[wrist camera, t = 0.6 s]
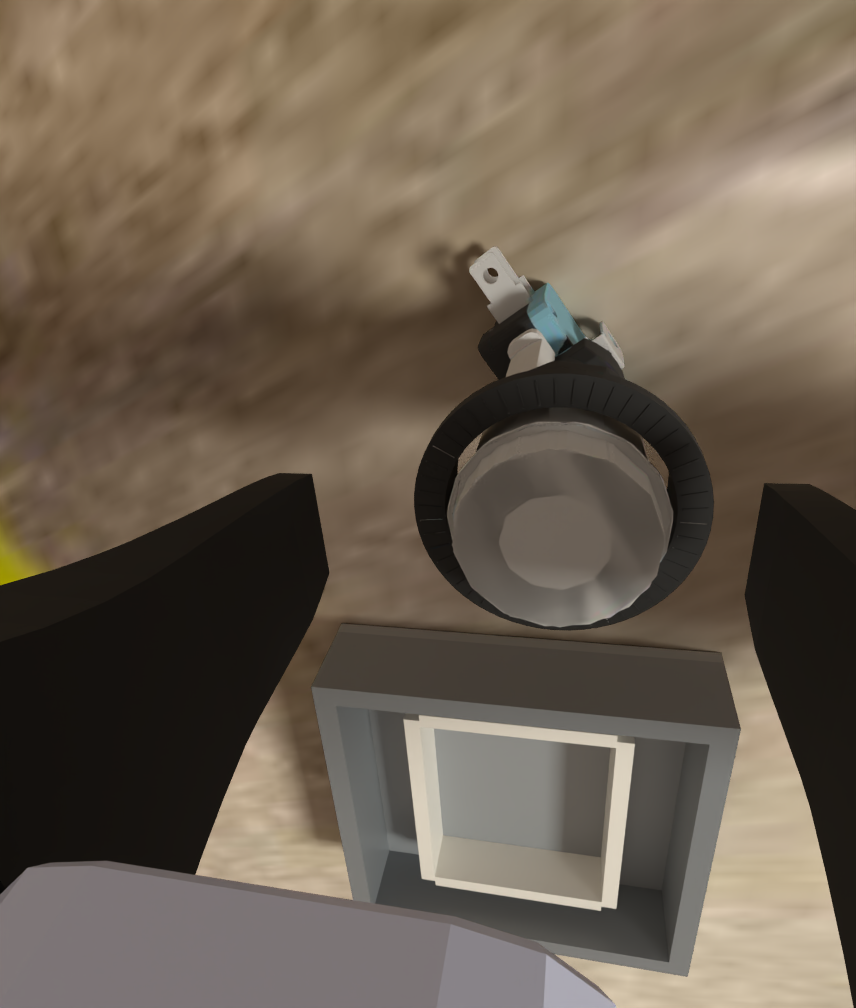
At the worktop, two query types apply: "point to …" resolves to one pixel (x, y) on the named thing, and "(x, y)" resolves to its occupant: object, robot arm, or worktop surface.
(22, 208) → the worktop surface
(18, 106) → the worktop surface
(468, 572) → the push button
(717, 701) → the grey square tray
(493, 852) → the cream rectangular frame
